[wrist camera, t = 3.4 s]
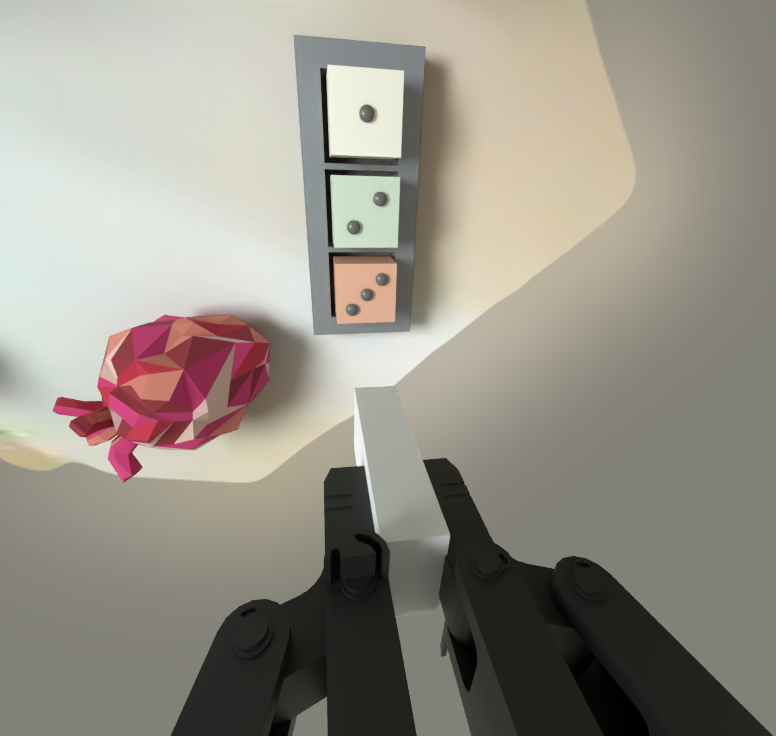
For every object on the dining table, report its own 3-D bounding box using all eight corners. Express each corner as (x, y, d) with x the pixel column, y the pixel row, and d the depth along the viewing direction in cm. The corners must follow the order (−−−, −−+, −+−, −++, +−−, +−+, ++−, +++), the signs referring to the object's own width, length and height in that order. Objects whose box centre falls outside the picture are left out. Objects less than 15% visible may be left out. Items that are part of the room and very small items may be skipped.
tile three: (335, 311, 41) (337, 324, 38) (333, 256, 39) (335, 264, 35) (388, 310, 42) (395, 322, 39) (389, 255, 40) (397, 264, 36)
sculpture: (222, 261, 39) (4, 353, 32) (276, 334, 33) (22, 464, 26) (262, 344, 50) (106, 424, 44) (307, 409, 44) (134, 513, 38)
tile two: (332, 241, 38) (334, 248, 34) (330, 175, 35) (331, 174, 31) (390, 241, 39) (398, 248, 35) (392, 177, 36) (400, 177, 32)
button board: (314, 325, 44) (314, 334, 42) (295, 46, 33) (293, 34, 30) (404, 322, 46) (409, 331, 43) (417, 56, 34) (425, 46, 32)
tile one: (329, 157, 35) (331, 154, 31) (326, 77, 32) (327, 63, 28) (392, 159, 36) (401, 157, 32) (394, 82, 33) (404, 69, 29)
